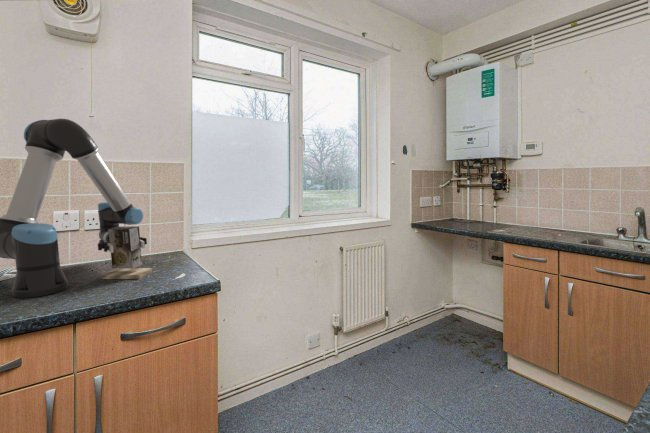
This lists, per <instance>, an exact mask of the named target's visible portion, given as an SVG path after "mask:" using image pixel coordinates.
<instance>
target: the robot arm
mask: <svg viewBox="0 0 650 433" xmlns="http://www.w3.org/2000/svg"><path fill="white" fill-rule="evenodd" d="M23 139H24V140H25V146H24V149H25V151H26V152H27V156H26V159H25V161H24V165H23V168H22V170H21V173H20V176H19V178H18V181H17V184H16V187H15V189H14V192H13V195H12V198H11V201H10V202H9V206H8V209H7V211H6V213H5V215H2V216H0V258H2V259H8V260H9V259H10V260H15V261H14V262H15V267H16V268H15V271H16V274H15V278H14V282H13V284H12V288H11V295H12V297H13V298H16V297H17V298H18V299H27V298H38V297H43V296H48V295H52V294H55V293H59V292H62V291H65V289H67V288H68V287H69V282H68V278H67V277H66V275H65V273H64V271H63V269H62V267H61V260H60V252H59V250H60V249H59V241H58V239H59V236H58V233H57V232H58V231H57V228H56V226H54V225H52V224H48V223H39V222H38V216H39V214H40V210H41V208H42V205H43V202H44V200H45V196H46V194H47V191H48V188H49V185H50V182H51V179H52V175H53V173H54V170H55V167H56V165H57V162H59V161H61V160H63V158H64V157H65V156H64V155H65V153H66V152H67V153H68V154H69V155H70V157H71V158H72V159H73V160H77V161H78V163H79V164H80V165H81V167H82V169H83V170H84V171H85V173H86V174H87V176H88V177H89V178H90V180H91V182H92V183H93V184H94V185H95V187H96V188H97V190H98V191H99V193H100V194H101V196H102V197H103V199H104V200H105V201H104V202H99V203H98V205H97V209H98V210H97V212H98V221H99V232H98V238H99V242H98V243H97V250H98V251H103V252H104V253H106V252H108V251H109V253H110V254H111V253H114V251H113V245H111V244H110V240H109V231H108V229H112V228H115V227H120V224H121V225H128V226H133V225H138V224H140V223H141V222H142V221H143V218H144V212H143V211H142V209H140V208H138V207H135V206H134V205H133V204H132V203H131V200H130V199H129V198H128V197H127V195H126V193H125V192H124V190H123V189H122V187H121V186H120V184H119V182H118V181H117V179H116V178H115V176H114V175H113V173H112V172H111V170H110V169H109V167H108V166H107V164H106V162H105V161H104V159H103V158H102V156H101V155H100V153H99V152H98V151H99V147H98V145H97V143H96V142H95V140H94V139H93V138H92V137H91V135H90V134H89V132H88V131H86V130H85V129H84V128H83V127H82V126H81V125H80V124H78V123H77V122H76V121H73V120H71V119H68V118H54V119H53V118H52V119H39V120H36V121H33V122H31V123H29V124H28V125H27V126H26V127H25V129H24V131H23ZM147 244H148V241H147V237H142V236H140V245H141V249H145V248H146V246H145V245H147Z"/></svg>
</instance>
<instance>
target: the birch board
mask: <svg viewBox="0 0 650 433" xmlns="http://www.w3.org/2000/svg"><path fill="white" fill-rule="evenodd" d="M152 272H153V268H152V267H151V268H150V267H135V268H133V269H126V268H112V270H109V271H107V272H105V273H103V274H101V275H100V280H136V279H137V280H140V279H142V278H143V277H145V276H147V275H149V274H150V273H152Z"/></svg>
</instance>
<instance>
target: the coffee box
mask: <svg viewBox="0 0 650 433" xmlns="http://www.w3.org/2000/svg"><path fill="white" fill-rule="evenodd" d="M108 231H109V240H110V244H111V245H113V251H114V253H111V252H110V258H111V268H112V269H116V268H126V269H133V268H139V267H140V266H142V265H143V261H142V260H143V259H142V248H141V245H140V237H141V236H140V234H141V233H140V226H119V227H115V228H112V229H108Z"/></svg>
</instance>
